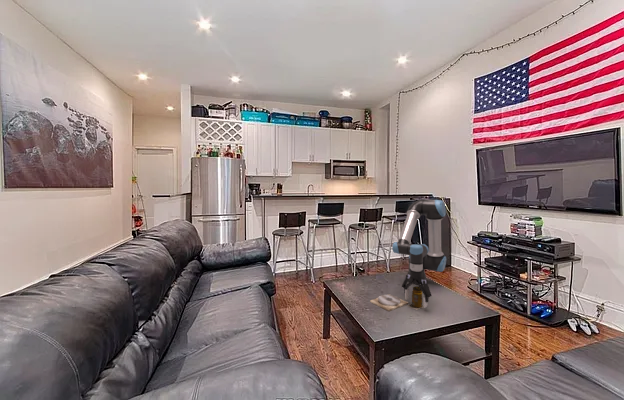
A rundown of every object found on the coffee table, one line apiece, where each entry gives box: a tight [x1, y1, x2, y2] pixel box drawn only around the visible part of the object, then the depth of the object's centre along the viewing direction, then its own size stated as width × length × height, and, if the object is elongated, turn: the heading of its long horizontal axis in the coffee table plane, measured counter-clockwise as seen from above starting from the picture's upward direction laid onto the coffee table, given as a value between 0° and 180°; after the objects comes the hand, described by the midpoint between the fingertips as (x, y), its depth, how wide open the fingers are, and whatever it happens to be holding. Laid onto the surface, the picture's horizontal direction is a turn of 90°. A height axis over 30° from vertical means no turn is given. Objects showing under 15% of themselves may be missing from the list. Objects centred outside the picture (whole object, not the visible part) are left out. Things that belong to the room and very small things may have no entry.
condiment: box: [406, 285, 424, 311], centre depth 177 cm, size 7×8×12 cm
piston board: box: [369, 293, 409, 312], centre depth 183 cm, size 18×16×3 cm
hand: (415, 302), depth 177 cm, fingers open, 13 cm apart
